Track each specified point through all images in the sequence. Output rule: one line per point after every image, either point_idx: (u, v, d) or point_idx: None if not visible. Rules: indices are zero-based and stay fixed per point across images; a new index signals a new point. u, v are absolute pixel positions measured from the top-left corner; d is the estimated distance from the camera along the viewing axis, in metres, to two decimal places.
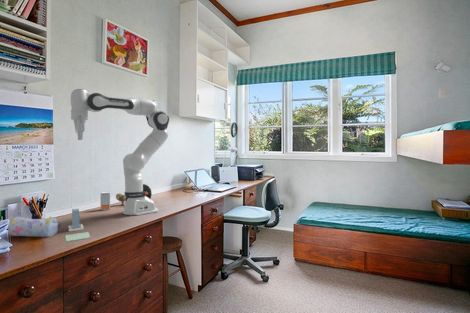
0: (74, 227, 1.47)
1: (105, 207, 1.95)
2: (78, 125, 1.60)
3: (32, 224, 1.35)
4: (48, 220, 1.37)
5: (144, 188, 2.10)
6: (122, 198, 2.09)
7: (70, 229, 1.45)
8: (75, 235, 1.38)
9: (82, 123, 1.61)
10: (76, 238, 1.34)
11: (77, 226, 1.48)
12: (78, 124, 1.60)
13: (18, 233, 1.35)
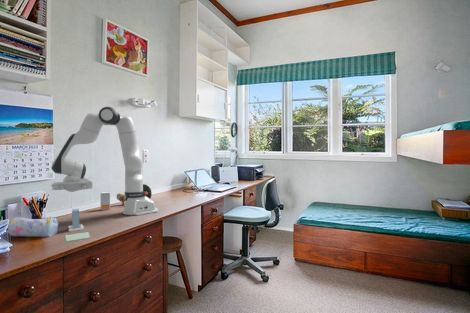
0: (74, 227, 1.47)
1: (105, 207, 1.95)
2: None
3: (32, 224, 1.35)
4: (48, 220, 1.37)
5: (144, 188, 2.10)
6: (123, 198, 2.09)
7: (70, 229, 1.45)
8: (75, 235, 1.38)
9: None
10: (76, 238, 1.34)
11: (77, 226, 1.48)
12: None
13: (18, 233, 1.35)
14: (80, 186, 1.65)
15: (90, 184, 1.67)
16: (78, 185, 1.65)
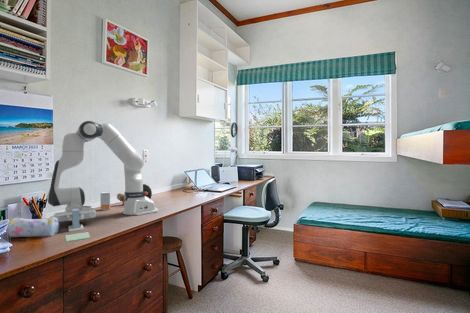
0: (74, 227, 1.47)
1: (105, 207, 1.95)
2: None
3: (33, 224, 1.36)
4: (50, 219, 1.38)
5: (144, 188, 2.11)
6: (123, 198, 2.10)
7: (70, 229, 1.45)
8: (75, 235, 1.38)
9: None
10: (76, 238, 1.34)
11: (77, 226, 1.48)
12: None
13: (18, 234, 1.34)
14: None
15: (93, 213, 1.57)
16: None
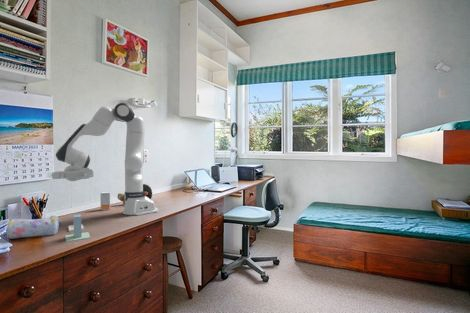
0: (76, 235, 1.34)
1: (105, 207, 1.95)
2: None
3: (35, 224, 1.36)
4: (53, 218, 1.40)
5: (145, 188, 2.11)
6: (123, 198, 2.10)
7: (70, 229, 1.45)
8: None
9: None
10: (76, 238, 1.34)
11: (79, 234, 1.35)
12: None
13: (19, 234, 1.33)
14: (81, 175, 1.61)
15: (91, 172, 1.63)
16: (79, 174, 1.60)
